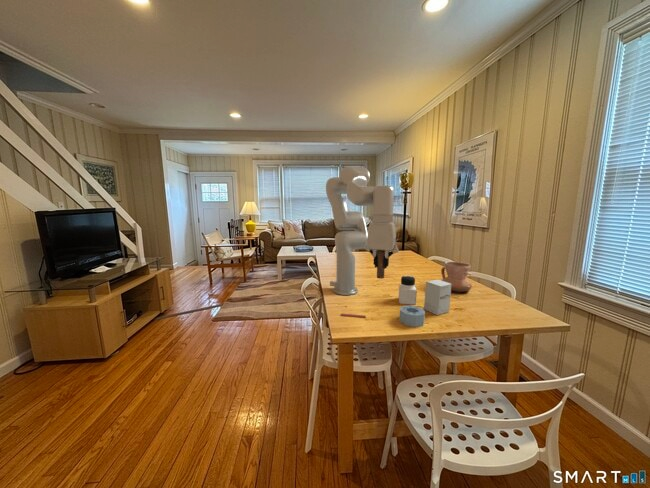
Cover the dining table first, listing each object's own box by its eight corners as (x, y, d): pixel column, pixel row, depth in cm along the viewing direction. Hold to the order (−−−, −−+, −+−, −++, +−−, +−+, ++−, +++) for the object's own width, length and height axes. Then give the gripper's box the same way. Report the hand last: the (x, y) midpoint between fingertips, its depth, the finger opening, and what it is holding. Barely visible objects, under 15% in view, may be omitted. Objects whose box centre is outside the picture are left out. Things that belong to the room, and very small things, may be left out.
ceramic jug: (480, 293, 129) (482, 265, 127) (458, 296, 124) (460, 268, 122) (451, 283, 146) (453, 259, 144) (431, 286, 141) (433, 261, 139)
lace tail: (341, 315, 104) (341, 314, 104) (341, 314, 105) (341, 313, 105) (365, 317, 102) (365, 316, 102) (365, 316, 103) (365, 315, 103)
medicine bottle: (416, 305, 115) (417, 279, 113) (399, 303, 116) (400, 278, 114) (413, 299, 121) (415, 275, 120) (398, 298, 123) (399, 274, 121)
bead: (398, 323, 97) (398, 312, 96) (402, 314, 105) (402, 304, 104) (422, 328, 93) (423, 316, 92) (424, 318, 101) (425, 308, 100)
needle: (375, 277, 98) (376, 244, 96) (377, 276, 100) (378, 243, 98) (383, 278, 96) (384, 245, 94) (385, 277, 99) (386, 244, 97)
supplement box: (437, 315, 104) (440, 286, 102) (423, 309, 110) (425, 281, 108) (449, 312, 107) (452, 283, 105) (435, 306, 113) (437, 278, 111)
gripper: (358, 219, 95) (357, 267, 98) (402, 220, 88) (400, 272, 91) (364, 218, 102) (364, 263, 105) (406, 219, 94) (404, 267, 97)
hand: (380, 266), depth 98 cm, fingers closed on needle, 2 cm apart
